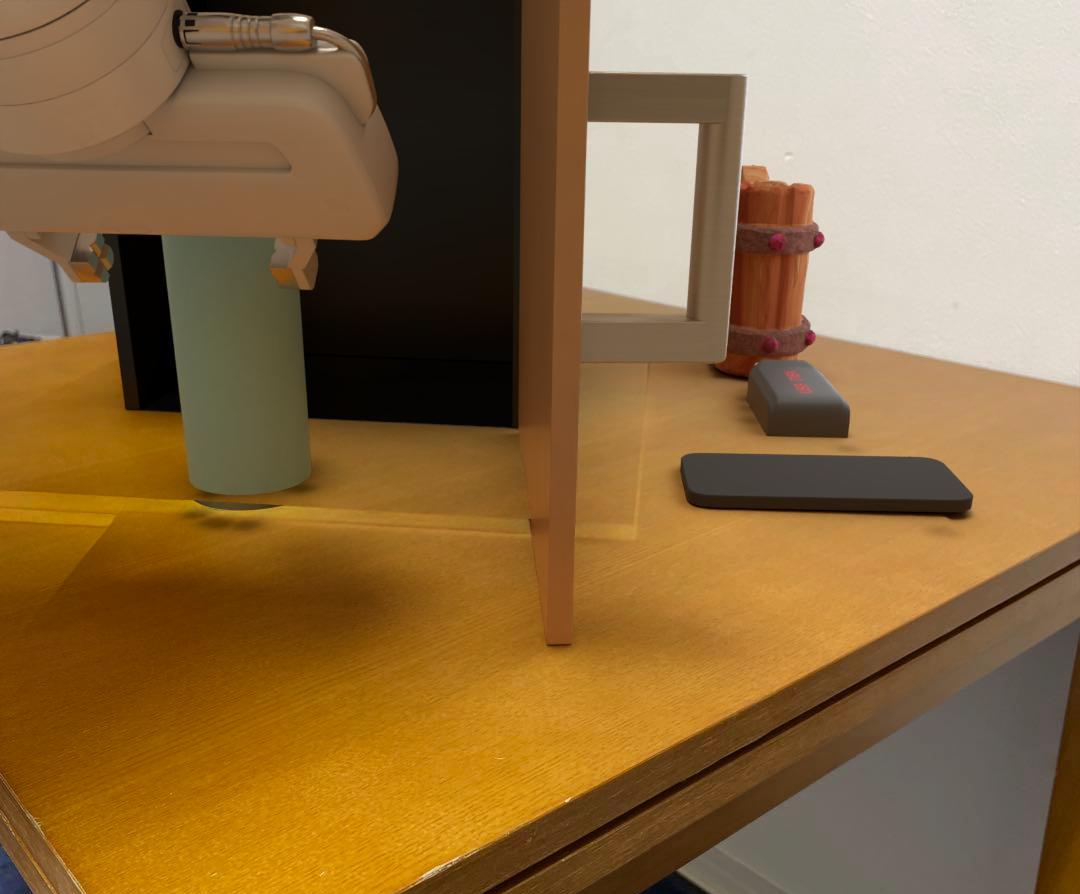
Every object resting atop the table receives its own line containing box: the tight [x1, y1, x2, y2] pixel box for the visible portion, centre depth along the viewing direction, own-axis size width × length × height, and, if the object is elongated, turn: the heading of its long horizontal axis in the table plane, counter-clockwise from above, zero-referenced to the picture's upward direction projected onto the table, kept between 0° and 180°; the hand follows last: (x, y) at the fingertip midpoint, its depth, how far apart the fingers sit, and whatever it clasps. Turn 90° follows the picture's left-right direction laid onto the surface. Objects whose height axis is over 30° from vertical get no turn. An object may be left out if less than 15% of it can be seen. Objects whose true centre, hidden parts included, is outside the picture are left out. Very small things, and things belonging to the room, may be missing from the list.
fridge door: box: [517, 0, 750, 645], centre depth 49 cm, size 7×26×32 cm, turn 4°
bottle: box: [161, 235, 313, 512], centre depth 55 cm, size 6×6×20 cm
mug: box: [713, 164, 825, 379], centre depth 86 cm, size 15×8×15 cm, turn 0°
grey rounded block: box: [746, 359, 851, 439], centre depth 75 cm, size 5×12×3 cm, turn 178°
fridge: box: [101, 0, 522, 430], centre depth 71 cm, size 18×26×32 cm
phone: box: [679, 452, 974, 513], centre depth 60 cm, size 7×1×15 cm
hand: (197, 273), depth 49 cm, fingers open, 8 cm apart
